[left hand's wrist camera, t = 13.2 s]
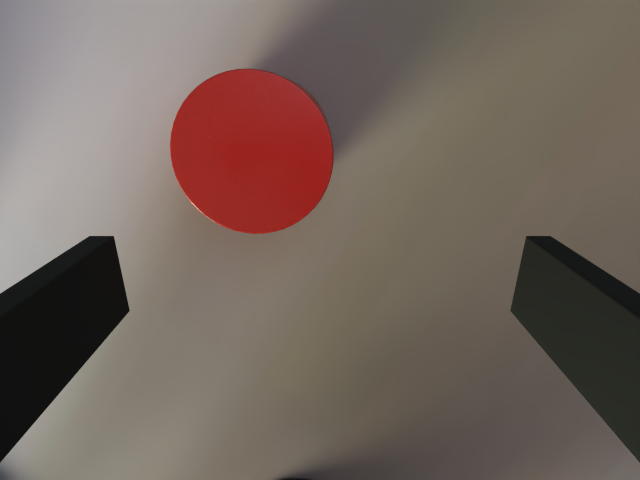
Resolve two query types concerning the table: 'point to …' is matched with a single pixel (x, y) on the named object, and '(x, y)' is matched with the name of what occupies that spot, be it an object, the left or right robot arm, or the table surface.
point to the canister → (252, 150)
